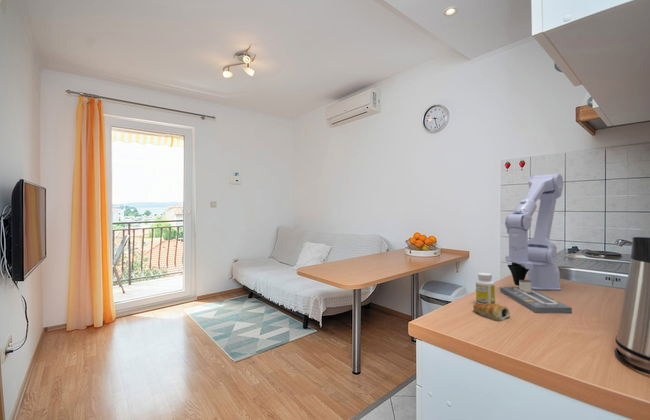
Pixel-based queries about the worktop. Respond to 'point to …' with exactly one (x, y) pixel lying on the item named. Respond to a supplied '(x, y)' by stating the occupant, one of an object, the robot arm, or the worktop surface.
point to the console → (536, 301)
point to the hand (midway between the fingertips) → (518, 285)
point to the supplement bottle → (485, 289)
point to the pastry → (492, 311)
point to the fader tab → (525, 286)
